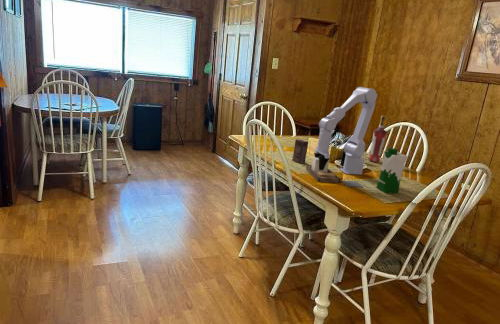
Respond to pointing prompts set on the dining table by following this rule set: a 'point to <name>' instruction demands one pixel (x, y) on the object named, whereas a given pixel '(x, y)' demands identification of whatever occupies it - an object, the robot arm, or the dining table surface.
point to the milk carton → (391, 171)
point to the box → (300, 151)
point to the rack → (323, 179)
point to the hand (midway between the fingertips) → (319, 168)
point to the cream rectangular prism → (316, 165)
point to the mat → (351, 184)
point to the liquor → (378, 141)
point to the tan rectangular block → (326, 174)
